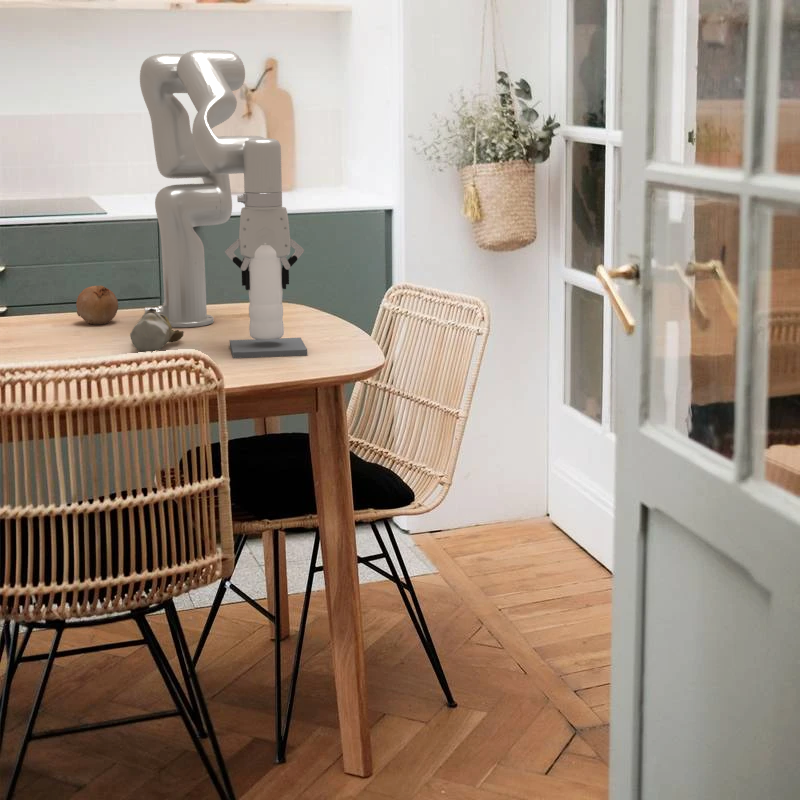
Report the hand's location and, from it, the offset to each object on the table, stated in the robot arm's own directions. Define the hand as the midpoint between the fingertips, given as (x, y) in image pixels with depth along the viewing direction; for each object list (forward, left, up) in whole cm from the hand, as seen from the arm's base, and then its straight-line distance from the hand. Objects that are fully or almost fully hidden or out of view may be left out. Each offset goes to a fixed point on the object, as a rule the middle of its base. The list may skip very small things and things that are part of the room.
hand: (265, 287), depth 263 cm
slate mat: (0, 0, -13) cm, 13 cm away
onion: (-36, +39, -13) cm, 55 cm away
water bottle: (0, 0, -10) cm, 10 cm away
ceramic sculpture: (-23, +8, -13) cm, 28 cm away
